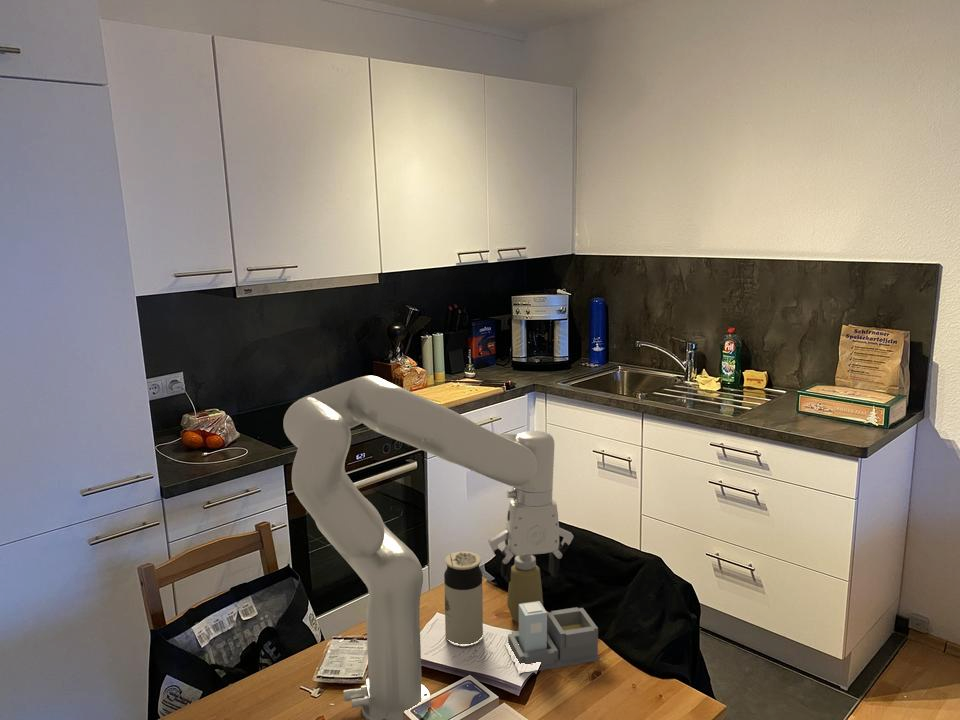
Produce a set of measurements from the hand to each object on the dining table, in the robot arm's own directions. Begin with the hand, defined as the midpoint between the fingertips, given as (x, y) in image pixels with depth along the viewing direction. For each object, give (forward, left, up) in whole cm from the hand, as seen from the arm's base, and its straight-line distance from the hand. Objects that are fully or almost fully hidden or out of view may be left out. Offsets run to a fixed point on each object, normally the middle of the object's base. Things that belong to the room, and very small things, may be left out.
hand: (529, 576), depth 141 cm
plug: (+1, 0, -17) cm, 17 cm away
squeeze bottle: (+4, +14, -18) cm, 23 cm away
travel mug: (-11, +10, -18) cm, 23 cm away
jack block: (+5, 0, -18) cm, 18 cm away
